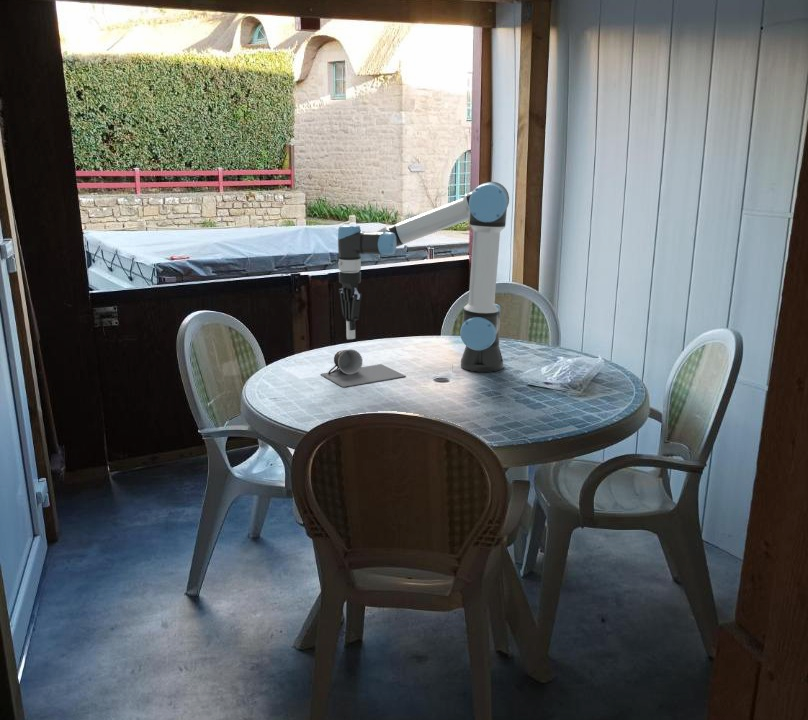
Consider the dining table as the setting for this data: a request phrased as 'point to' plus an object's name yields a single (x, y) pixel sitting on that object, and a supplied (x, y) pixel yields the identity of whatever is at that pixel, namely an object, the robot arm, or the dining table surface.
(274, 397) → the dining table surface
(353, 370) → the coffee mug
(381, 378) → the mat
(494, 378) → the dining table surface
